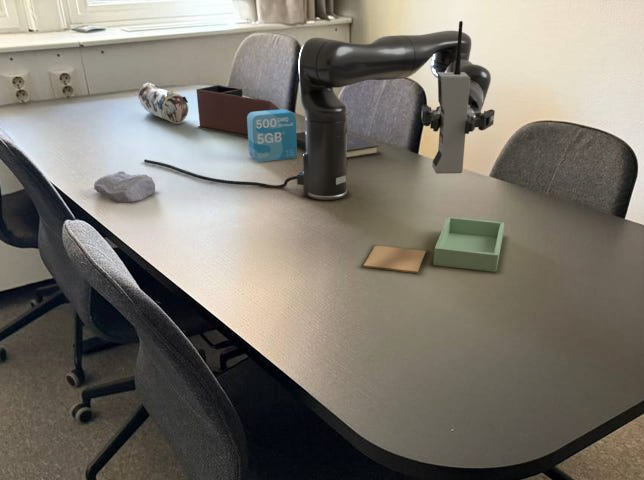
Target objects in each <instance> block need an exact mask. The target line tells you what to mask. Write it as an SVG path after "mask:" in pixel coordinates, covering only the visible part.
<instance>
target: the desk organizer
mask: <svg viewBox="0 0 644 480" xmlns="http://www.w3.org/2000/svg"><path fill="white" fill-rule="evenodd" d="M196 99H197V101H196V102H197V111H198V120H199V121H198V122H199V125H198V126H197V128H198V129H202V130H208V131H212V132H218V133H224V134H228V135H232V136H233V135H234V136H239V137H244V138H248V125H247V116H248V114H249V113H250V112H255V111H267V110H279V109H280V107H278V106H277V105H276V104H274V103H273V101H271V100H266V99H265V100H264V99H258V98H252V97H247V96H243V89H242V88H240V87H233V86H227V85H221V84H216V85H215V84H214V85H211V86H206V87H201V88H196Z"/></svg>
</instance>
